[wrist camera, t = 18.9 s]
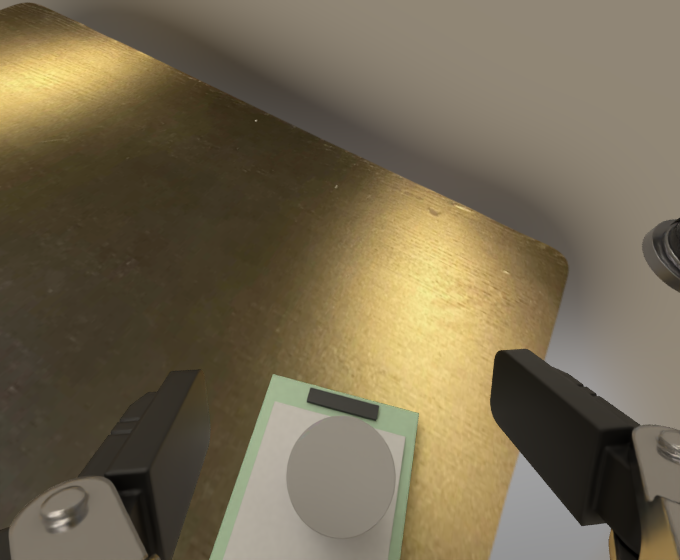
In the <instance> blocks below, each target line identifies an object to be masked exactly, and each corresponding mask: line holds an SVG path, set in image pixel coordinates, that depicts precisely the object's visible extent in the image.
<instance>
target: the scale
mask: <svg viewBox="0 0 680 560" xmlns="http://www.w3.org/2000/svg"><path fill="white" fill-rule="evenodd" d="M331 416H350V417H354V418H357V419H360V420H362V421H364V422H366V423H368V424H369V425H370V426H372V427H373V428H374V429H375V430H376V431H377V432H378V433H379V434H380V435H381V436H382V437H383V439H384V440H385V442H386V443H387V445H388V447H389V449H390V451H391V454H392V457H393V460H394V465H395V473H396V482H395V490H394V495H393V498H392V501H391V504H390V506H389V508H388V510H387V512H386V513H385V515H384V516H383V518H382V519H381V520H380V521H379V522H378V523H377V524H376V525H375V526H374V527H373V528H372V529H370V530H369V531H367V532H365V533H364V534H361V535H359V536H356V537H353V538H347V539H335V538H330V537H326V536H324V535H321V534H319V533H317V532H315V531H314V530H312V529H311V528H310V527H308V526H307V525H306V524H305V523H304V522H303V521H302V520H301V518H300V517H299V516H298V514H297V513H296V511H295V509H294V507H293V505H292V503H291V500H290V497H289V494H288V489H287V481H286V473H287V464H288V460H289V456H290V453H291V451H292V449H293V446H294V445H295V443H296V441H297V440H298V438H299V437H300V436H301V434H302V433H303V432H304V431H305V430H306V429H307V428H309V427H310V426H311V425H312V424H314V423H316V422H317V421H319V420H322V419H324V418H327V417H331ZM418 417H419V413H416V412H412V411H409V410H405V409H401V408H397V407H394V406H390V405H386V404H383V403H379V402H375V401H371V400H368V399H364V398H360V397H356V396H353V395H349V394H345V393H341V392H338V391H334V390H330V389H327V388H323V387H319V386H315V385H312V384H308V383H304V382H300V381H297V380H293V379H289V378H286V377H282V376H278V375H274V374H273V376H272V379H271V382H270V385H269V387H268V390H267V393H266V396H265V399H264V402H263V405H262V408H261V411H260V414H259V417H258V420H257V422H256V425H255V428H254V431H253V434H252V437H251V440H250V443H249V446H248V449H247V452H246V455H245V457H244V460H243V463H242V466H241V469H240V472H239V475H238V478H237V481H236V484H235V487H234V489H233V492H232V495H231V498H230V501H229V504H228V507H227V510H226V513H225V516H224V519H223V522H222V524H221V527H220V530H219V533H218V536H217V539H216V542H215V545H214V548H213V551H212V554H211V557H210V559H209V560H400V555H401V547H402V539H403V532H404V524H405V516H406V509H407V501H408V494H409V486H410V478H411V471H412V463H413V455H414V448H415V440H416V432H417V425H418Z"/></svg>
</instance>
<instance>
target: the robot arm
mask: <svg viewBox="0 0 680 560" xmlns="http://www.w3.org/2000/svg"><path fill="white" fill-rule="evenodd" d="M678 222H679V223H678ZM675 223H677V224H675ZM672 224H675V225H673V226H672V227H671V228H669V229H668V230H667V231H666V232H665V233H664V235H663V238H662V244H663V248H664V251H665V253H666V255H667V256H668V258H669V259H670V260H671V262H672V263H673V264H674V265H675V266H676V267H677V268H678V269H680V218H679V219H677V220H676V221H675V222H673V223H672ZM672 224H671V225H672ZM669 226H670V225H669ZM490 405H491V411H492V415H493V417H494V419H495V421H496V423H497V424H498V426H499V427H500V428H501V429H502V430H503V432H504V433H505V434H506V435H507V436H508V438H509V439H510V440H511V441H512V442H513V444H514V445H515V446H516V447H517V449H518V450H519V451H520V452H521V453H522V454H523V456H524V457H525V458H526V459H527V460H528V462H529V463H530V464H531V465H532V467H533V468H534V469H535V470H536V471H537V472H538V474H539V475H540V476H541V477H542V479H543V480H544V481H545V482H546V484H547V485H548V486H549V487H550V488H551V490H552V491H553V492H554V493H555V494H556V496H557V497H558V498H559V499H560V500H561V502H562V503H563V504H564V505H565V506H566V508H567V509H568V510H569V511H570V513H571V514H572V515H573V516H574V517H575V519H576V520H577V521H578V522H579V523H580V525H581V526H586V525H594V524H602V523H607V524H608V525H609V526H610V527H611V532H610V536H609V553H610V560H680V430H677V429H673V428H670V427H665V426H659V425H640V424H638V423H637V422H635V421H634V420H633V419H631V418H630V417H628V416H627V415H625V414H624V413H623V412H621V411H620V410H618V409H617V408H616V407H614V406H613V405H611V404H610V403H609V402H607V401H606V400H604V399H603V398H602V397H600V396H597V395H596V393H594V392H593V391H592V390H590V389H589V388H588V387H584V386H583V384H582V383H580V382H579V381H578V380H576V379H575V378H573V377H572V376H571V375H569V374H568V373H565V372H563V371H561V370H559V369H556V368H554V367H552V366H550V365H549V364H548V363H546V362H545V361H543V360H542V359H541V358H539V357H538V356H537V355H535V354H534V353H532V352H531V351H530V350H528V349H515V350H500V351H498V352H497V353H496V355H495V359H494V368H493V378H492V388H491V398H490ZM209 440H210V417H209V409H208V400H207V392H206V383H205V376H204V372H203V371H202V370H201V369H200V370H184V371H171V372H170V373H169V374H168V376H167V378H166V379H165V381H164V382H163V384H162V385H161V387H160V388H159V390H158V391H157V392H148V393H146V394H145V395H144V396H142V397H141V398H140V399H138V400H137V401H135V402H134V403H133V404H131V405H130V406H129V408H128V409H127V410H126V412H125V413H124V414H123V416H122V417H121V419H120V422H118V423H117V424H116V425H115V427H114V428H113V429H112V431H111V435H108V436H107V438H106V439H105V440H104V442H103V443H102V444H101V446H100V447H99V449H98V450H97V451H96V453H95V454H94V455H93V457H92V458H91V459H90V461H89V462H88V464H87V465H86V466H85V468H84V469H83V470H82V472H81V473H80V475H79V476H78V477H77V478H74V479H71V480H68V481H65V482H63V483H60V484H58V485H56V486H54V487H52V488H50V489H48V490H46V491H45V492H43V493H41V494H40V495H39V496H37V497H36V498H34V499H33V500H32V501H31V502H29V503H28V504H27V505H26V506H25V507H24V508H23V509H22V510H21V511H20V512H19V513H18V515H17V516H16V517H15V518H14V520H13V522H12V524H11V526H10V527H8V528H5V529H2V530H0V560H172V557H173V554H174V551H175V548H176V545H177V542H178V539H179V535H180V532H181V529H182V526H183V523H184V520H185V517H186V514H187V511H188V508H189V505H190V502H191V499H192V496H193V492H194V489H195V486H196V483H197V480H198V477H199V474H200V471H201V468H202V465H203V462H204V459H205V456H206V453H207V450H208V446H209Z"/></svg>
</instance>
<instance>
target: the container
mask: <svg viewBox="0 0 680 560" xmlns="http://www.w3.org/2000/svg"><path fill="white" fill-rule="evenodd" d="M286 481H287V489H288V494H289V497H290V500H291V503H292V505H293V507H294V509H295V511H296V513H297V514H298V516H299V517H300V518H301V520H302V521H303V522H304V523H305V524H306V525H307V526H308V527H310V528H311V529H312V530H314V531H315V532H317V533H319V534H321V535H324V536H326V537H330V538H335V539H347V538H353V537H356V536H359V535H361V534H364V533H365V532H367V531H369V530H370V529H372V528H373V527H374V526H375V525H376V524H377V523H378V522H379V521H380V520H381V519H382V518H383V516H384V515H385V513H386V512H387V510H388V508H389V506H390V504H391V501H392V498H393V495H394V490H395V482H396V473H395V465H394V460H393V457H392V454H391V451H390V449H389V447H388V445H387V443H386V442H385V440H384V439H383V437H382V436H381V435H380V434H379V433H378V432H377V431H376V430H375V429H374V428H373V427H372V426H370V425H369V424H368V423H366V422H364V421H362V420H360V419H357V418H354V417H350V416H331V417H327V418H324V419H322V420H319V421H317V422H316V423H314V424H312V425H311V426H310V427H309V428H307V429H306V430H305V431H304V432H303V433H302V434H301V436H300V437H299V438H298V440H297V441H296V443H295V445H294V446H293V449H292V451H291V453H290V456H289V460H288V464H287V473H286Z"/></svg>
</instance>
